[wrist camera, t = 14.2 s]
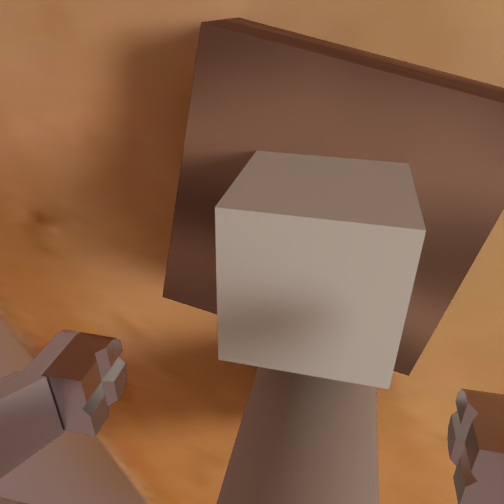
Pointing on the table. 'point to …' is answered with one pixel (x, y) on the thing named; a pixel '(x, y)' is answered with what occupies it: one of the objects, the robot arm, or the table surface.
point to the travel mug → (304, 443)
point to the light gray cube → (317, 265)
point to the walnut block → (338, 150)
